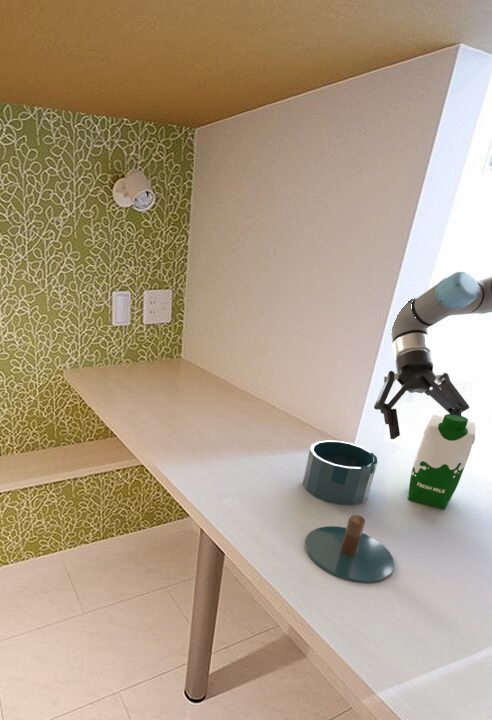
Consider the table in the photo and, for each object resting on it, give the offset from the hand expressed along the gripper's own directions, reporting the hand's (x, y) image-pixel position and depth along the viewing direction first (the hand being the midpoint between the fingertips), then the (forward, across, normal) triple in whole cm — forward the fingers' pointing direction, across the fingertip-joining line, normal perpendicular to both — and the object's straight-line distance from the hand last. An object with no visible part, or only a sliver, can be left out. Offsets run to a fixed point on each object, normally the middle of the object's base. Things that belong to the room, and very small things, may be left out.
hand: (426, 438), depth 99 cm
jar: (+12, +20, -4) cm, 24 cm away
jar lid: (+28, +25, +13) cm, 40 cm away
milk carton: (+13, 0, -3) cm, 13 cm away
